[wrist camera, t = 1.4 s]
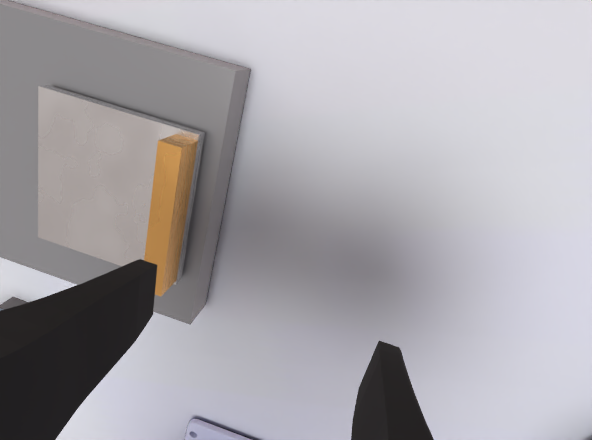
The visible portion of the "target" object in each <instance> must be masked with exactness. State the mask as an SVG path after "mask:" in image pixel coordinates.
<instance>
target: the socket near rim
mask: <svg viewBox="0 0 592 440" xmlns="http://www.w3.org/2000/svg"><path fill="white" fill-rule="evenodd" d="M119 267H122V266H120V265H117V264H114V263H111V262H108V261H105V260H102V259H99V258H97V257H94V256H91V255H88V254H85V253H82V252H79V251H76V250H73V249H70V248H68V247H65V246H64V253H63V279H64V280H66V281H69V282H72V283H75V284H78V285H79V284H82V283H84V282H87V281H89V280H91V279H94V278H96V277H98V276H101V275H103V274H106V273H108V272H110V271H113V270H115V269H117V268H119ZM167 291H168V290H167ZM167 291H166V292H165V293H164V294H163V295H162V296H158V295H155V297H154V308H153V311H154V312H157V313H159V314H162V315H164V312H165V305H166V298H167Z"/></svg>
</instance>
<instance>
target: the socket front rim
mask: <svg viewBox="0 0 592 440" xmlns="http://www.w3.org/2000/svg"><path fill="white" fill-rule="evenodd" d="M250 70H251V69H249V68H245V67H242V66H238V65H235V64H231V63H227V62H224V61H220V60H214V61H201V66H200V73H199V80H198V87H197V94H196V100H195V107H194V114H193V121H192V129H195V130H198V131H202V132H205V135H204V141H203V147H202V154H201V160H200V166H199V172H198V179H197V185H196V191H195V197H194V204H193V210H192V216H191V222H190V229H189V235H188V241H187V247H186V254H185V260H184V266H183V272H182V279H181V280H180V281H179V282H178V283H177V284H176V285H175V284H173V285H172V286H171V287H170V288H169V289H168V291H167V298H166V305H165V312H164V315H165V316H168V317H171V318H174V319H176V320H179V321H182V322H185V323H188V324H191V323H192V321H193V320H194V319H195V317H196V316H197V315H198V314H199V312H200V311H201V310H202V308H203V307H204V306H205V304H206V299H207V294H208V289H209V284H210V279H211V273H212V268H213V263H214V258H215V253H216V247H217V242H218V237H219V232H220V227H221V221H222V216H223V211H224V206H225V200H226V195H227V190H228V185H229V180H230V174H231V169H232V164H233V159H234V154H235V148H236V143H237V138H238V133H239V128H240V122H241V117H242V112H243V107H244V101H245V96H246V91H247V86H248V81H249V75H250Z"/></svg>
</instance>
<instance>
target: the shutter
mask: <svg viewBox="0 0 592 440" xmlns="http://www.w3.org/2000/svg"><path fill="white" fill-rule="evenodd" d="M204 135H205V132H202V131H198V130H195V129H192V128H189V127H185V126H182V125H179V124H175V123H172V122H169V121H165V120H162V119H159V118H156V117H152V116H149V115H146V114H142V113H139V112H136V111H133V110H129V109H126V108H123V107H119V106H116V105H113V104H109V103H106V102H103V101H100V100H96V99H93V98H90V97H86V96H83V95H80V94H76V93H73V92H70V91H67V90H63V89H60V88H57V87H53V86H50V85H44V86H38V237H39V238H42V239H44V240H47V241H50V242H53V243H56V244H59V245H62V246H65V247H68V248H70V249H73V250H76V251H79V252H82V253H85V254H88V255H91V256H94V257H97V258H99V259H102V260H105V261H108V262H111V263H114V264H117V265H120V266H124V265H126V264H129V263H131V262H133V261H136V260H139V259H142V260H144V261H147V262H150V263H153V264H156V265H157V276H156V287H155V295H158V296H162V295H163V294H164V293H165V292H166V291H167V290H168V289H169V288H170V287H171V286H172V285H173V284H175V285H176V284H177V283H178V282H179V281H180V280H181V279H182V272H183V266H184V260H185V254H186V247H187V241H188V235H189V229H190V222H191V216H192V210H193V204H194V197H195V191H196V185H197V179H198V172H199V166H200V160H201V154H202V147H203V141H204Z"/></svg>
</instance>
